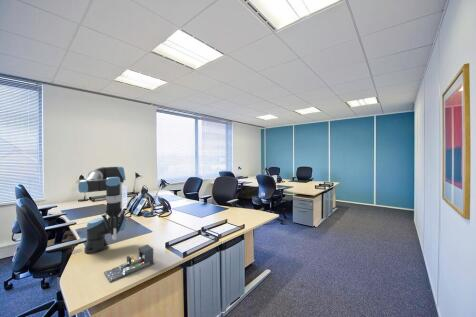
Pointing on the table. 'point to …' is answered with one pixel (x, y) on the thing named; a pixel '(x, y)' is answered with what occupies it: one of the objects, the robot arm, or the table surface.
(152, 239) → the table surface
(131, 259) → the orange-striped grey block
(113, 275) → the gauge base
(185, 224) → the table surface
